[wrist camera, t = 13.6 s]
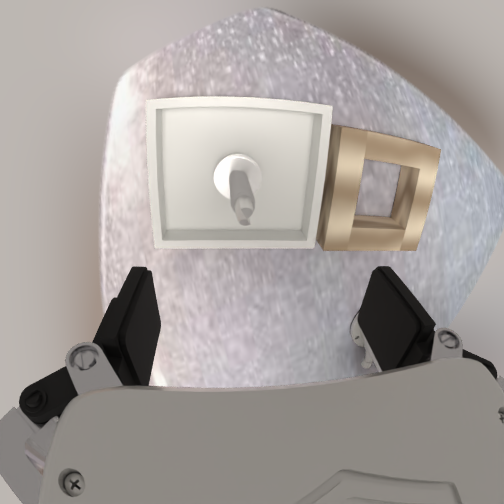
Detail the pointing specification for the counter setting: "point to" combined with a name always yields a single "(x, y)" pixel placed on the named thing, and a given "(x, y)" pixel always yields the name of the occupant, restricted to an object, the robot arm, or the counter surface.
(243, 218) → the screw
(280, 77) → the counter surface
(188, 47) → the counter surface
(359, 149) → the holder
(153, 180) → the tray
